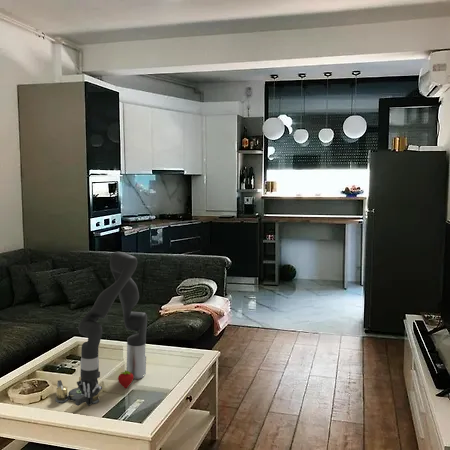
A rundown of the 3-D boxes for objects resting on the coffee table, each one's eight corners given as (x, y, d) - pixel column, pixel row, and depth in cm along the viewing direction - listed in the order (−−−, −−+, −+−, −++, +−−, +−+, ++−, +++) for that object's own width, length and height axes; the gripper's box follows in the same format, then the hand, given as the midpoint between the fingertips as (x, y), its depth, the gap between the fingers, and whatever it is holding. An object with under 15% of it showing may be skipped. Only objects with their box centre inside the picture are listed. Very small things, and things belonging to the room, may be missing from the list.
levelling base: (83, 385, 240) (83, 378, 240) (112, 394, 232) (112, 387, 232) (52, 400, 223) (52, 394, 223) (82, 411, 215) (82, 404, 215)
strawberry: (115, 387, 239) (116, 367, 238) (130, 384, 243) (130, 364, 242) (120, 392, 234) (121, 372, 233) (135, 389, 239) (135, 369, 237)
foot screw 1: (67, 399, 223) (68, 388, 222) (57, 400, 221) (57, 390, 220) (64, 387, 234) (64, 377, 233) (54, 389, 232) (54, 378, 232)
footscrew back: (84, 389, 233) (84, 379, 233) (76, 387, 235) (77, 376, 235) (102, 380, 244) (102, 370, 243) (95, 377, 246) (95, 368, 246)
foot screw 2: (92, 395, 228) (92, 385, 227) (100, 398, 226) (100, 387, 225) (72, 406, 217) (73, 395, 216) (80, 409, 215) (80, 398, 214)
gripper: (71, 365, 212) (71, 404, 214) (95, 372, 206) (94, 412, 208) (84, 359, 219) (83, 397, 221) (107, 366, 213) (106, 405, 215)
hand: (89, 404), depth 214 cm, fingers closed
